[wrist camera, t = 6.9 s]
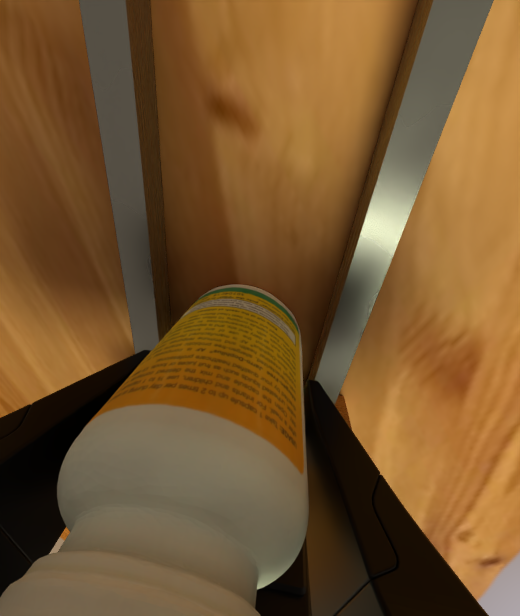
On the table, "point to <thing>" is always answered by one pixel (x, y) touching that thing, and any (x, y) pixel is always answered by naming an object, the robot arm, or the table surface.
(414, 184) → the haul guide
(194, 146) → the table surface
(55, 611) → the supplement bottle
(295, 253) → the table surface
